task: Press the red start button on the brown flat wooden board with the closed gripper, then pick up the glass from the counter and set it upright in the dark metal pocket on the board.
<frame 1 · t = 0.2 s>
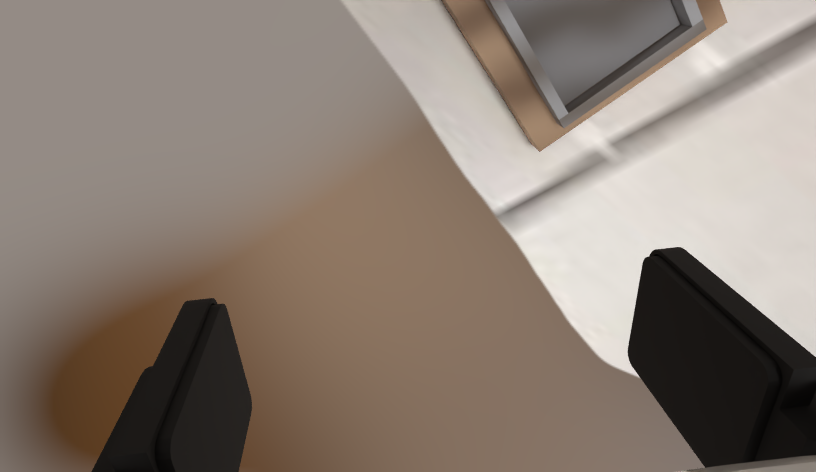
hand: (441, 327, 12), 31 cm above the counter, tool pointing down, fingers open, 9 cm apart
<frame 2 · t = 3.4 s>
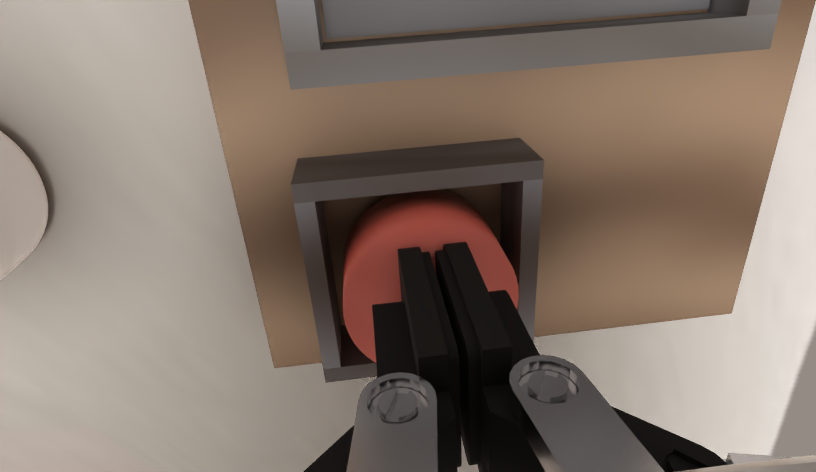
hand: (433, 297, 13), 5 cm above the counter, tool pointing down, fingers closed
start button: (425, 281, 14), point 4 cm above the counter, slide at 0.4 cm
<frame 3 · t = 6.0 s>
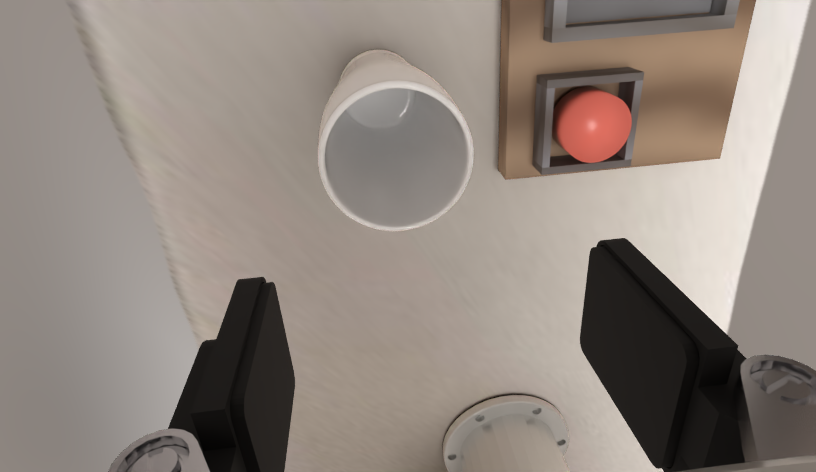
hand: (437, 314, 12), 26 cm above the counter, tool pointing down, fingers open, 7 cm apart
drinking glass: (378, 89, 35), on the counter
start button: (589, 124, 34), point 4 cm above the counter, slide at 0.6 cm
brown flat wooden board: (620, 0, 34), on the counter
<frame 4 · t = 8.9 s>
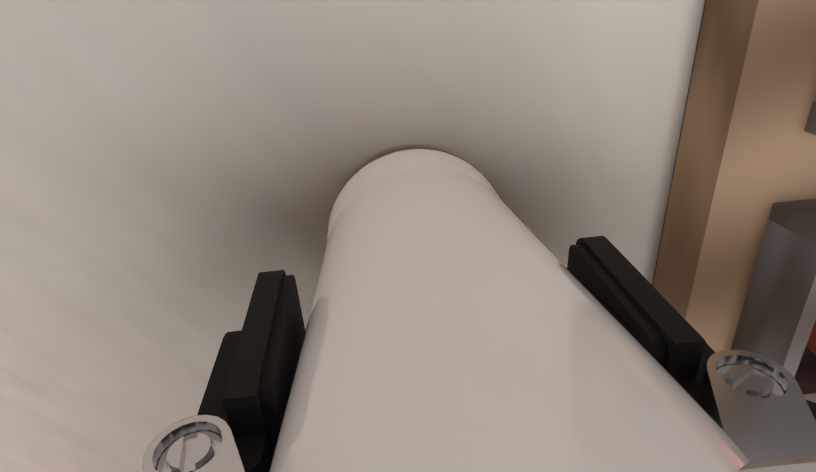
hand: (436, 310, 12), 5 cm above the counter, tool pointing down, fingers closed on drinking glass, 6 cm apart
drinking glass: (413, 221, 16), on the counter, touching gripper
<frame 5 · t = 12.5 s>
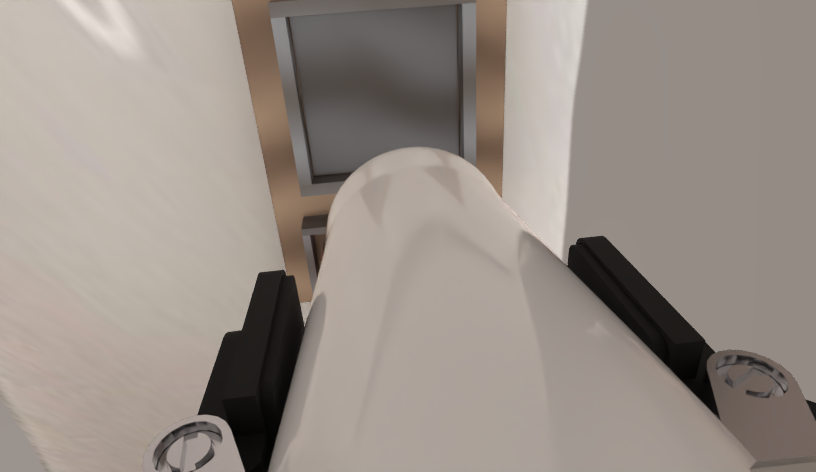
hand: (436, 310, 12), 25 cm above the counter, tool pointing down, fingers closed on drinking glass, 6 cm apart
drinking glass: (412, 219, 16), point 20 cm above the counter, touching gripper
start button: (353, 263, 36), point 4 cm above the counter, slide at 0.6 cm
brown flat wooden board: (384, 145, 36), on the counter
when the fingers open (8 cm above the counter, at t = 16.1 s): drinking glass drops 1 cm, resting on brown flat wooden board.
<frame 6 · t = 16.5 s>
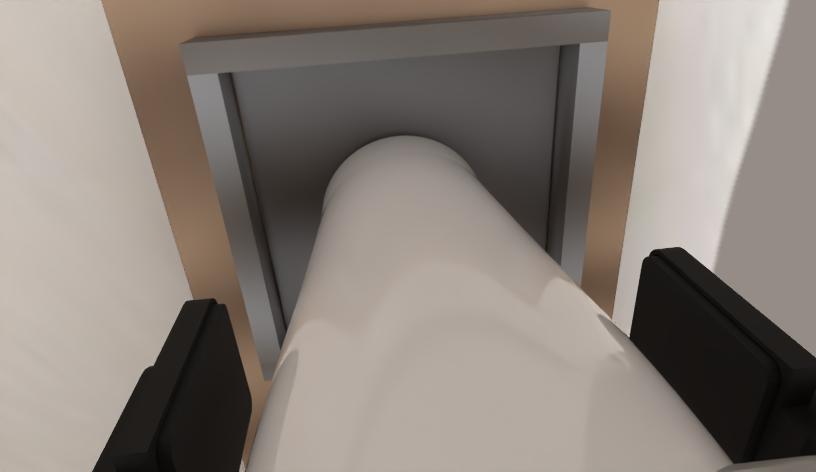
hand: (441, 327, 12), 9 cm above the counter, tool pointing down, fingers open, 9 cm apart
drinking glass: (401, 204, 18), point 2 cm above the counter, touching brown flat wooden board
brown flat wooden board: (409, 272, 21), on the counter
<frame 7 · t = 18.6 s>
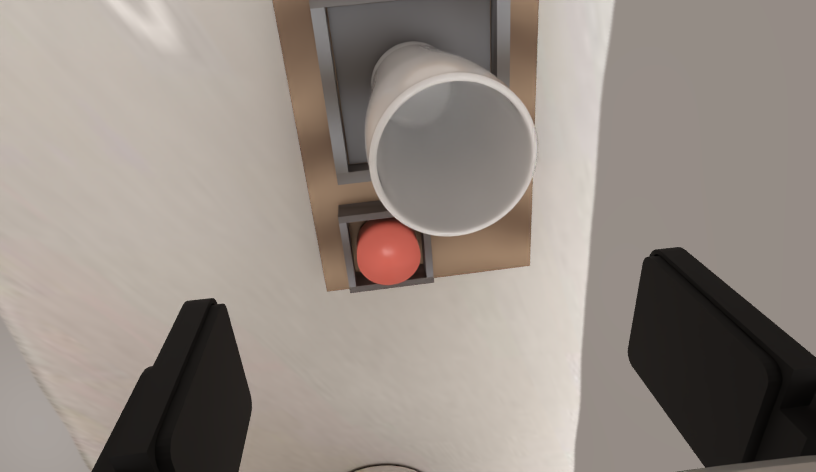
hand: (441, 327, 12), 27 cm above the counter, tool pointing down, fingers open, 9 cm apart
drinking glass: (411, 83, 33), point 2 cm above the counter, touching brown flat wooden board
start button: (387, 249, 37), point 4 cm above the counter, slide at 0.6 cm
brown flat wooden board: (416, 134, 37), on the counter
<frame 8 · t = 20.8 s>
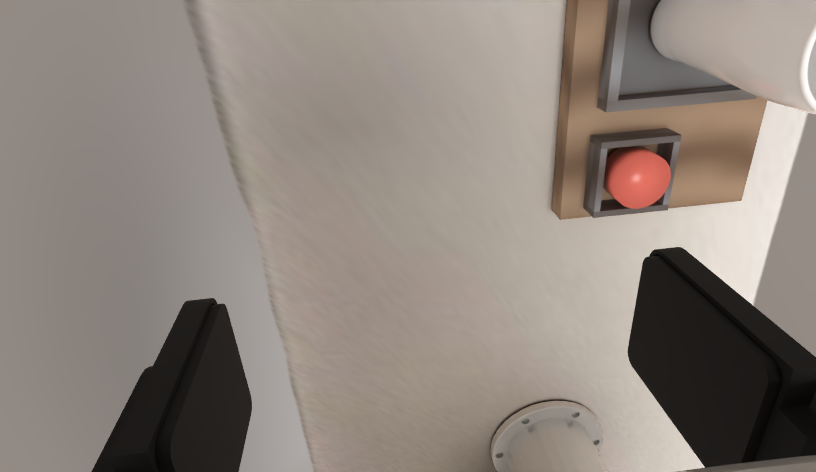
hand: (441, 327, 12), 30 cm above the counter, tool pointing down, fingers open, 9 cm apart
drinking glass: (681, 19, 37), point 2 cm above the counter, touching brown flat wooden board
start button: (634, 176, 40), point 4 cm above the counter, slide at 0.6 cm
brown flat wooden board: (660, 72, 40), on the counter
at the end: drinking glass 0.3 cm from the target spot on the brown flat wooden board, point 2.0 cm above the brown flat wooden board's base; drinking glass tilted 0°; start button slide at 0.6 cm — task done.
